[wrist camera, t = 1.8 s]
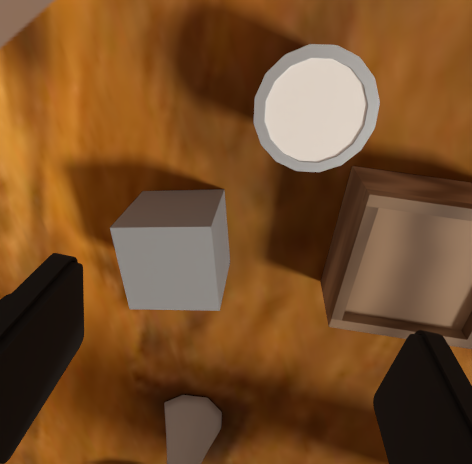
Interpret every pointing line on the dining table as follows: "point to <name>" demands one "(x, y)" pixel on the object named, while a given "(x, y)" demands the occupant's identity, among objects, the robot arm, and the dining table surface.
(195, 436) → the flask
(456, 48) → the dining table surface
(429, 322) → the walnut tray
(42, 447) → the dining table surface
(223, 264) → the slate block
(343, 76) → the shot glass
